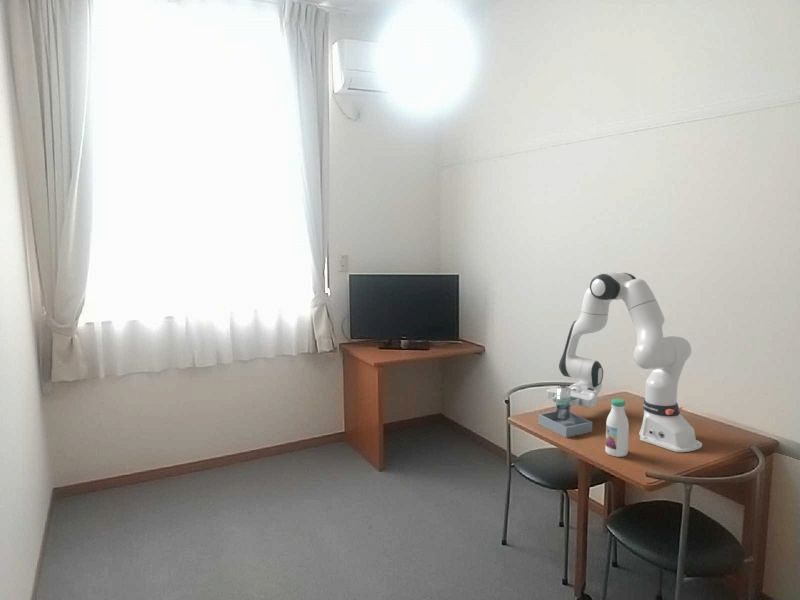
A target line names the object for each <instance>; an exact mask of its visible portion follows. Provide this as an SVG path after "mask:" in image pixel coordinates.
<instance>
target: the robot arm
mask: <svg viewBox="0 0 800 600" xmlns="http://www.w3.org/2000/svg"><path fill="white" fill-rule="evenodd" d="M614 300H622V301H623V302H624V304H625V306H626V309H627V311H628V313H629V316H630V318H631V321H632V323H633V326H634V329H635V333H636V346H635V348H634V351H633V359H634V362H635V364H636V365H638V367H639V368H641V369H643V370H644V369H645V370H651V372H650V374H649V376H648V377H647V378H646V381H645V392H644V393H645V394H644V395H645V396H644V399H643V407H642V408H643V418H642V422H641V426H640V430H639V432H638V435H639V440H640V441H641V442H645V443H648V444H651V445H654V446H657V447H661V448H663V449H666V450H669V451H671V452H672V451H673V452H675V453H686V452H687V453H689V452H693V451H696V450H700V449H701V448H702V447H703V443H702V442H701V441H700V440H697V439H696V432H695V428H694V427H692V425H691V424H690V423H689V422H688V421H687V420H686V419H685V417H684V416H683V415H681V411H682V410H683V407H684V406H683V407H682V406H681V407H679V405H678V402H677V400H678V399H677V398H678V386H679V380H680V377H681V374H682V371H683V369H684V366H685V364H686V362H687V361H688V359H689V358H690V357H691V354H692V347H691V344H690V342H689V341H688V339H686V338H684V337H681V336H672V335H671V336H665V337H664V334H663V333H664V332H663V325H664V323H665V316H664V314H663V312H662V310H661V307H660V305H659V303H658V301H657V299H656V295H655V294H654V293H653V291H652V289H651V288H650V286H649V285H648V283H647V282H646V281H645V280H644V279H641V278H637V277H635V275H633V274H631V273H629V272H609V273H608V272H607V273H600V274H598V275H596V276H594V277H593V278H592V279H591V281H590V284H589V287H588V288H587V289H586V290H585V292H584V295H583V299H582V303H581V309H580V314H579V317H578V318H577V319H576V320H574V321H573V322H572V324H571V327H570V329H569V332H568V336H567V339H566V343H565V346H564V350H563V352H562V353H563V354H562V355H561V357H560V359H559V364H558V369H559V371H560V373H561V374H562V376H564V377H567V378H574V379H577V380H579V381H576V382H575V383H573V384H571V385H569V386H568V387H569V388H570V389H571V395H570V396H571V399H570V401H569V405H570V407H573V406H580V407H584V408H588V409H591V408H594V407H595V406H597V404H598V394H600V392H601V390H602V387H603V385H602V382H603V379H604V369H603V368H604V367H603V366H602V364H601V363H600V362H599V361H598V360H594V359H591V358H587V357H586V358H585V357H582V356H578V355H577V354H576V352H577V348H578V345H579V340H580V338H581V337H582V336H583V335H586V334H587V335H588V334H594V333H597V332H600V331H601V330H603V329H604V328H605V327H606V325H607V324H608V323H607V322H608V319H609V312H610V311H609V309H610V303H611V302H612V301H614ZM557 387H558V386H555V387H551V388H549V389H547V390H546V397H547V399H550V400H552V402H555V403H556V388H557Z"/></svg>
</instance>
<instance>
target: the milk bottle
mask: <svg viewBox="0 0 800 600" xmlns="http://www.w3.org/2000/svg"><path fill="white" fill-rule="evenodd" d="M610 405H611V410H610V412H609V413H608V415H607V417H606V422H605V423H606V425H605V446H604V448H605V449H604V450H605V453H606V454H607V455H609V456H612V457H617V458H622V457H626V456H627V455H628V453H629V438H630V437H629V435H630V434H629V428H630V427H629V424H630V422H629V418H628V416H627V414H626V412H625V405H626V402H625V400H624V399H622V398H612V399H611V404H610Z"/></svg>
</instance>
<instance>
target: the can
mask: <svg viewBox="0 0 800 600" xmlns="http://www.w3.org/2000/svg"><path fill="white" fill-rule="evenodd" d="M556 387H557V388H556V402H555V411H556V417H557V418H560V419H568V418H570V412H571V406H570V405H569V401H570V399H571V396H570V395H571V389H570V388H569V386H556Z"/></svg>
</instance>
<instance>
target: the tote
mask: <svg viewBox="0 0 800 600" xmlns="http://www.w3.org/2000/svg"><path fill="white" fill-rule="evenodd" d="M537 421H538V422H537V423H538V425H540V426H541V427H544V428H546V429H548V430H550V431H552V432H554V433H556V434H558V435H559V434H560V436H561V435H562V437H563V436H564V437H563V438H565V437H566V438H565V439H568V438H572V437H576V436H575V435H577V436H580V435H579V434H581V435H584V434H583V433H585V434H589V433H588V432H590V433H592V432H593V421H591V420H589V419H586V418H584V417H581V416H579V415H577V414H575V413H573V412H571V411H570V418H568V419H560V418H557V417H556V410H553V411H549V412H543V413H540V414H539V413H538V420H537ZM591 431H592V432H591ZM571 436H572V437H571ZM567 437H568V438H567Z"/></svg>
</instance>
